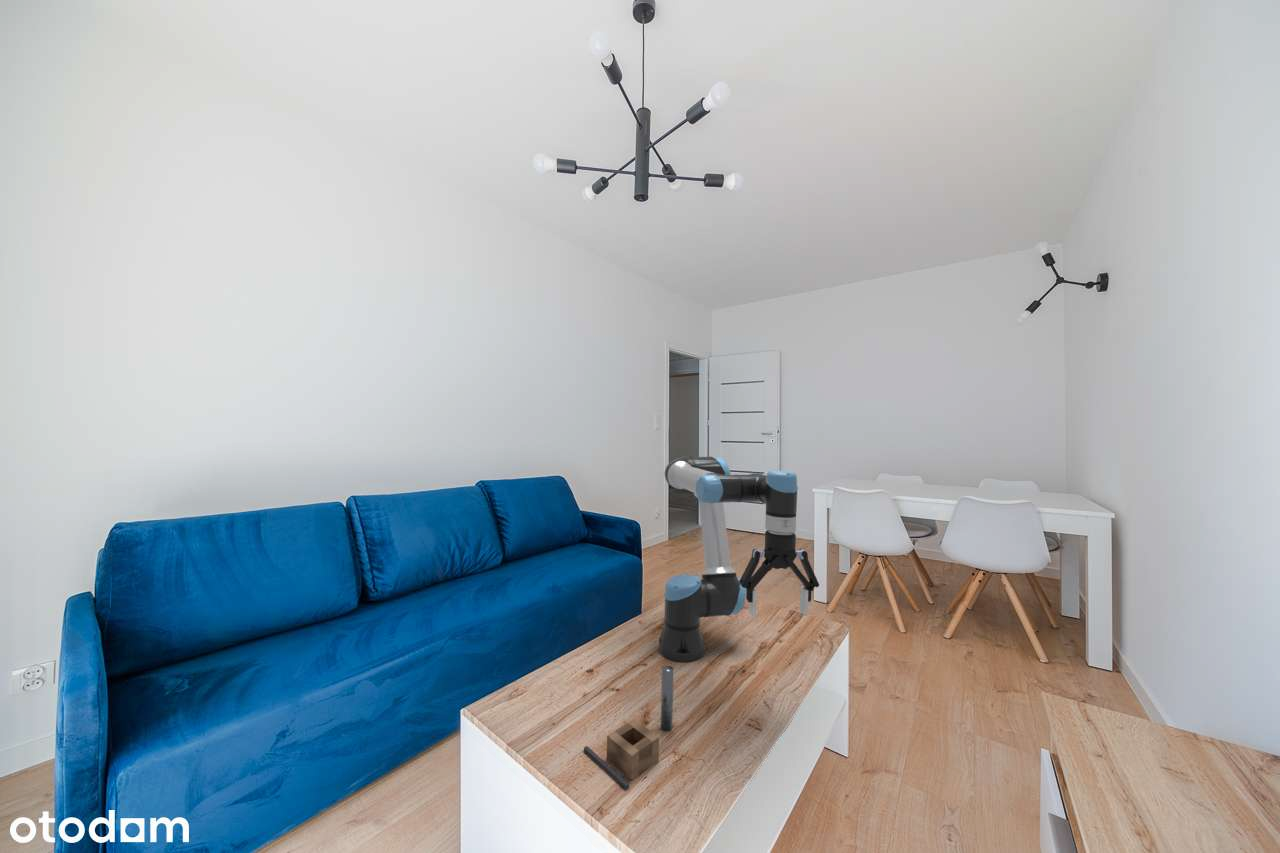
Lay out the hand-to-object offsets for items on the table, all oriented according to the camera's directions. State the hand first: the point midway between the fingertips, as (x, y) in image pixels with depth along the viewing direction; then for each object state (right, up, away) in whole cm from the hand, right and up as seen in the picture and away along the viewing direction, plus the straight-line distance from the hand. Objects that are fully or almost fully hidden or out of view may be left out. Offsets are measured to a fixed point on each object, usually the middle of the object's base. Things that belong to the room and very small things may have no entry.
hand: (778, 614), depth 111 cm
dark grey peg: (-29, -24, -7) cm, 39 cm away
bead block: (-37, -24, -17) cm, 47 cm away
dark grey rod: (-43, -24, -20) cm, 53 cm away
